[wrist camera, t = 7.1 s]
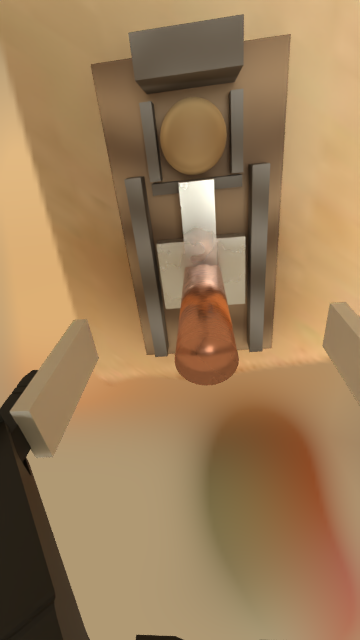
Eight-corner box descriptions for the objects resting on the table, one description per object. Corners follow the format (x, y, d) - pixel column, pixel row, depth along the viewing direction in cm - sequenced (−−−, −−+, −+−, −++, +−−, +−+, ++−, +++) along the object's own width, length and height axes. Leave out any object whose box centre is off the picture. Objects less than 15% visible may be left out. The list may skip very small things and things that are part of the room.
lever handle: (150, 182, 23) (103, 212, 12) (243, 172, 22) (292, 193, 11) (166, 303, 28) (145, 406, 17) (243, 297, 27) (276, 401, 16)
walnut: (159, 106, 21) (151, 96, 17) (222, 98, 20) (228, 85, 16) (167, 176, 23) (161, 180, 19) (224, 169, 22) (230, 173, 19)
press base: (96, 68, 21) (65, 42, 16) (285, 40, 19) (314, 2, 15) (148, 348, 32) (139, 382, 28) (269, 341, 31) (282, 376, 26)
